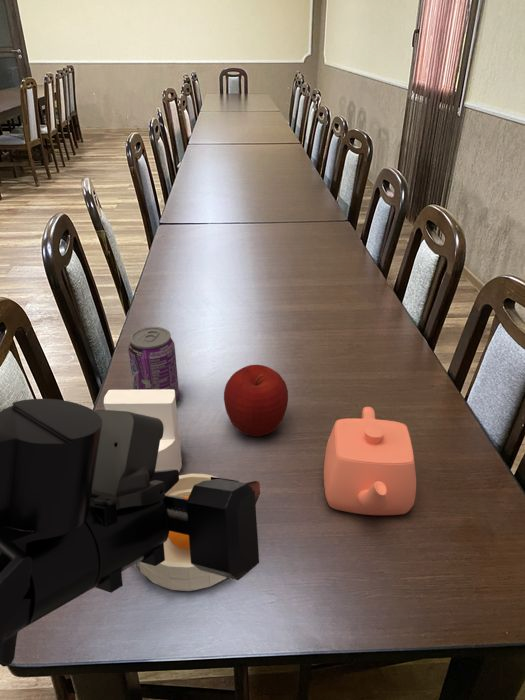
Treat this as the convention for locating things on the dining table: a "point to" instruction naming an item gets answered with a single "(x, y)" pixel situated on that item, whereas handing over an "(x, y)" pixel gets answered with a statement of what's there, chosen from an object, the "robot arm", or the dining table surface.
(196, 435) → the dining table surface
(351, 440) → the teapot
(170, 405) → the cylinder with rectangular tab
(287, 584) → the dining table surface
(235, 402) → the apple
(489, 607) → the dining table surface
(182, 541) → the orange
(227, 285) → the dining table surface
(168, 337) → the beverage can
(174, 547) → the bowl
